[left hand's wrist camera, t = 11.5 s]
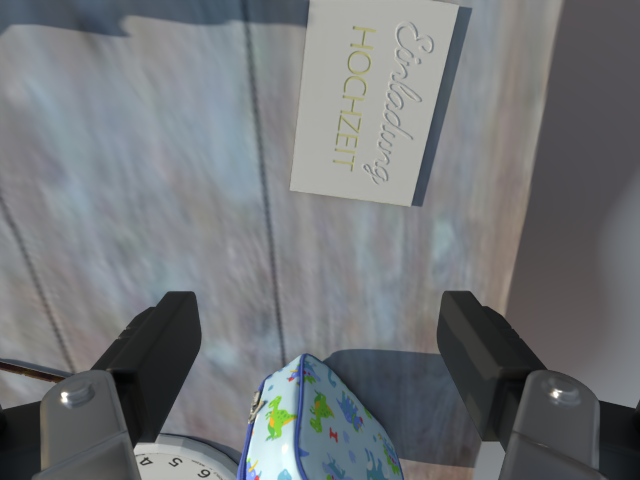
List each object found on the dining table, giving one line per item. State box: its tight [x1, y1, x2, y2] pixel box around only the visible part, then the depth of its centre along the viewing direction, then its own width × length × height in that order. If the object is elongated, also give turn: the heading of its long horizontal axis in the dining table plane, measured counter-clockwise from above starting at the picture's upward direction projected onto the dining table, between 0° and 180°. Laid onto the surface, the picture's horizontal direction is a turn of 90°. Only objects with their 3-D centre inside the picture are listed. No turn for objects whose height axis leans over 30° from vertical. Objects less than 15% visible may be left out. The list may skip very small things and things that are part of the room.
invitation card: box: [290, 0, 459, 206], centre depth 39 cm, size 21×1×15 cm
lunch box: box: [237, 354, 404, 480], centre depth 46 cm, size 26×11×21 cm, turn 37°
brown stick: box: [0, 362, 66, 383], centre depth 52 cm, size 15×1×1 cm, turn 71°
